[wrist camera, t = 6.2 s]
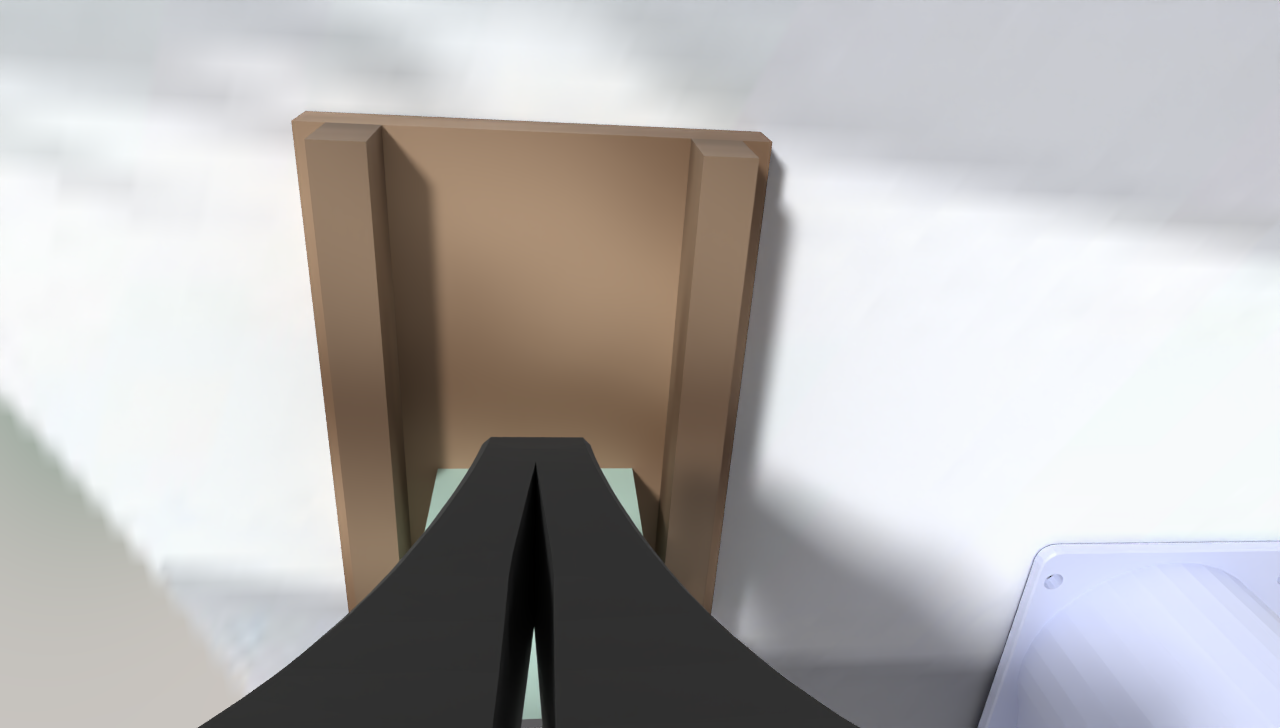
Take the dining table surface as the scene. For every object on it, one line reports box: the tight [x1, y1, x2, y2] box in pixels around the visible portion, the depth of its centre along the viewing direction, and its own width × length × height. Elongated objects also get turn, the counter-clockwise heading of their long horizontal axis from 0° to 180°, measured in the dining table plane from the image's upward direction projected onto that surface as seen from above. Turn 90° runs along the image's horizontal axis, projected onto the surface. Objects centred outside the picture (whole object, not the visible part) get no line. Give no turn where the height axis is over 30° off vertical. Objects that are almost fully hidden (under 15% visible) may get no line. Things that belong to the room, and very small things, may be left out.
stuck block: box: [425, 468, 643, 719], centre depth 19 cm, size 4×4×4 cm
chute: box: [291, 111, 772, 728], centre depth 18 cm, size 13×9×4 cm
